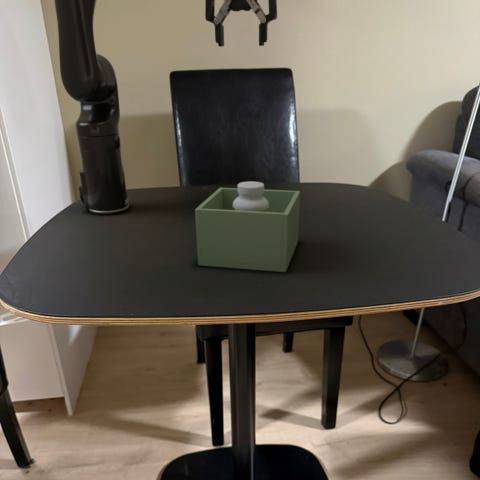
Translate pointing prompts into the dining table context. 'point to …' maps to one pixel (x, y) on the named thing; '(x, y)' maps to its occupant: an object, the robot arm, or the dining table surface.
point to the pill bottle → (251, 197)
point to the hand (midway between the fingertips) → (241, 46)
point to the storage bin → (247, 231)
